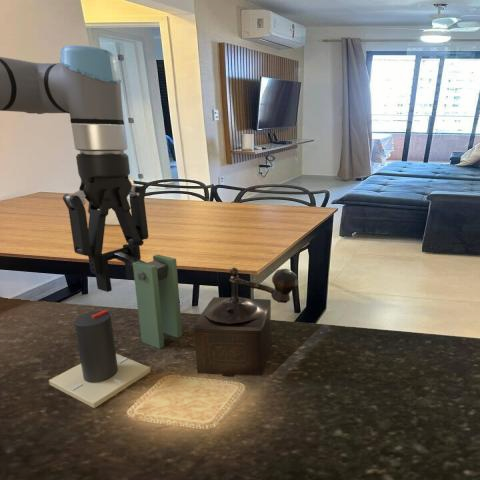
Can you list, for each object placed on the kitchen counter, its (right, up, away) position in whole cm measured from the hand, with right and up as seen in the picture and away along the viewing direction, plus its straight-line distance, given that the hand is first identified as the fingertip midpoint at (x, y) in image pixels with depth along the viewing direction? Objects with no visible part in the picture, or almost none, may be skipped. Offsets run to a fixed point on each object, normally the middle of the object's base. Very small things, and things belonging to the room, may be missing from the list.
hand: (119, 283), depth 69 cm
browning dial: (+4, -12, -13) cm, 18 cm away
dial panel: (+4, -14, -12) cm, 19 cm away
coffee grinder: (+25, -13, -6) cm, 29 cm away
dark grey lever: (+5, +3, -3) cm, 6 cm away
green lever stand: (+8, -11, -1) cm, 14 cm away
